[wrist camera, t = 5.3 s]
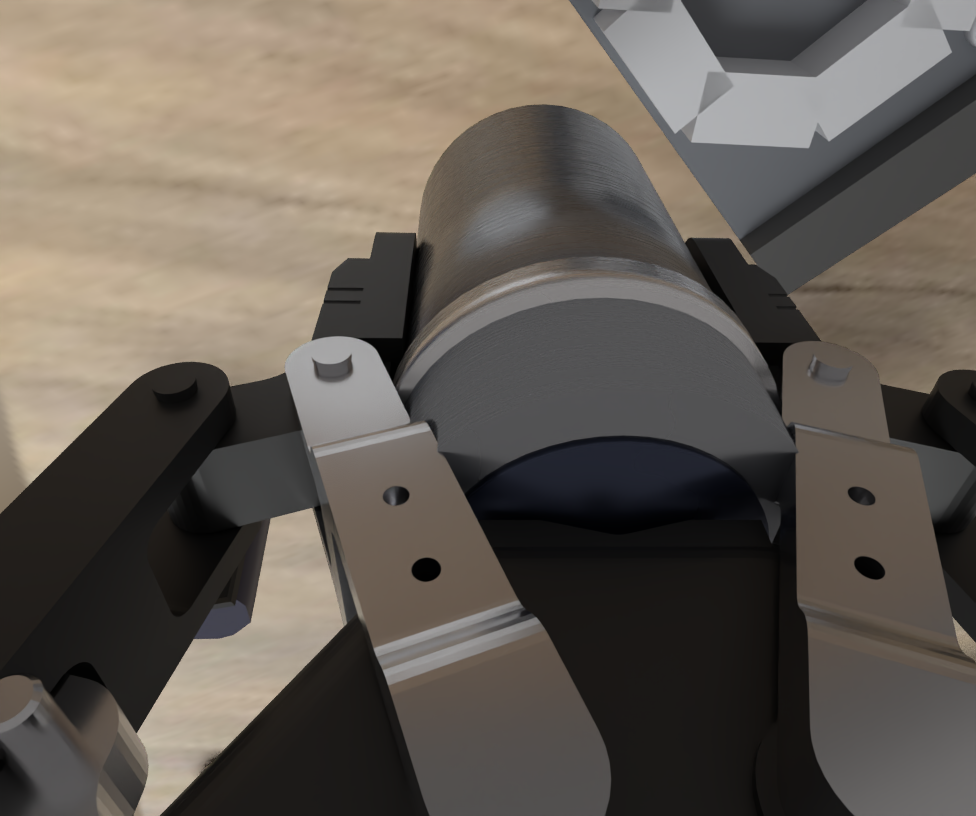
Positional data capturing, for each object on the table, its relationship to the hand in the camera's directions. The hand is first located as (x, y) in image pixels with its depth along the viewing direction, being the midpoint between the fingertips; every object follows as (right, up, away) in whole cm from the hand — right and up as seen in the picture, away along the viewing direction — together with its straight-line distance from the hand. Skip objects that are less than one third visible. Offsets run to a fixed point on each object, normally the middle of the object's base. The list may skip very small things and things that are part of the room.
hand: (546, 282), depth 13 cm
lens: (0, +2, +2) cm, 2 cm away
